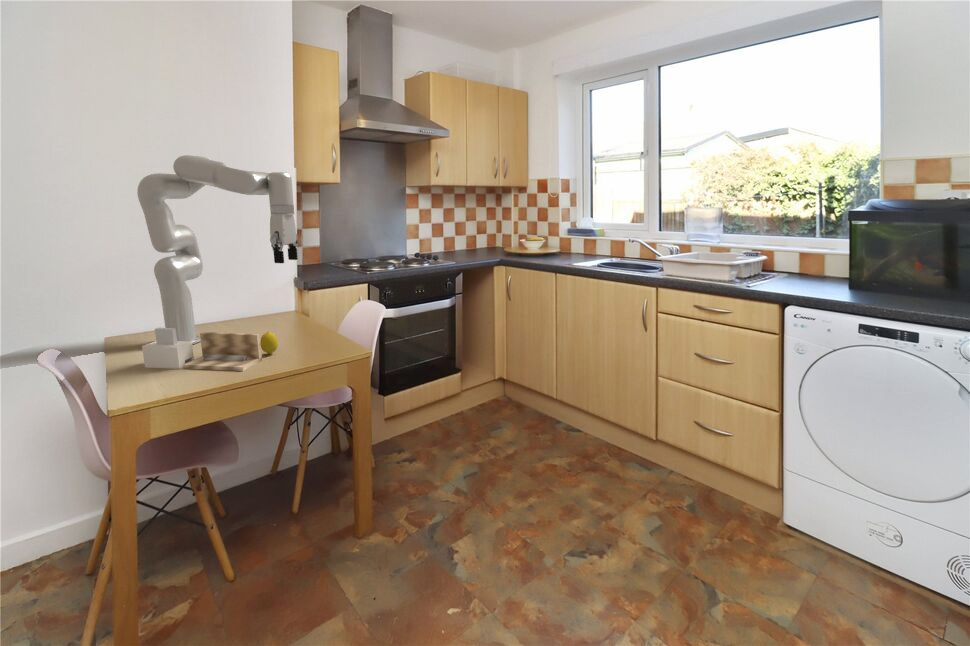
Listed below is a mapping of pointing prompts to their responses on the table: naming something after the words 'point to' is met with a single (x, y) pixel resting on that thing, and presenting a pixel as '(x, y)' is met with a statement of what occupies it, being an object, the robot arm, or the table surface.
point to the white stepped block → (167, 350)
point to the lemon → (269, 343)
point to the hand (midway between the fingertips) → (286, 261)
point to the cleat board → (227, 351)
